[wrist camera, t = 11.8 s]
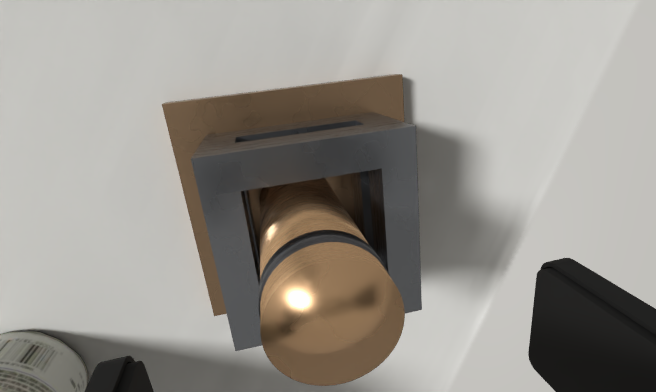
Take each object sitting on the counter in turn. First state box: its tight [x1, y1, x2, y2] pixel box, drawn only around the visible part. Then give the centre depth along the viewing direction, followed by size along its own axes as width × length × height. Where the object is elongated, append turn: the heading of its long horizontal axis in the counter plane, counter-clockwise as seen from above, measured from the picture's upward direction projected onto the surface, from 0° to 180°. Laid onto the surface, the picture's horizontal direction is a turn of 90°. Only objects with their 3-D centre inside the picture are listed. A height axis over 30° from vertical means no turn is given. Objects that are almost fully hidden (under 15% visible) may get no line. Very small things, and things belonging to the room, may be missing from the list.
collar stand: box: [162, 74, 422, 351], centre depth 19 cm, size 12×12×6 cm
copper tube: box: [259, 178, 405, 386], centre depth 16 cm, size 4×4×11 cm
